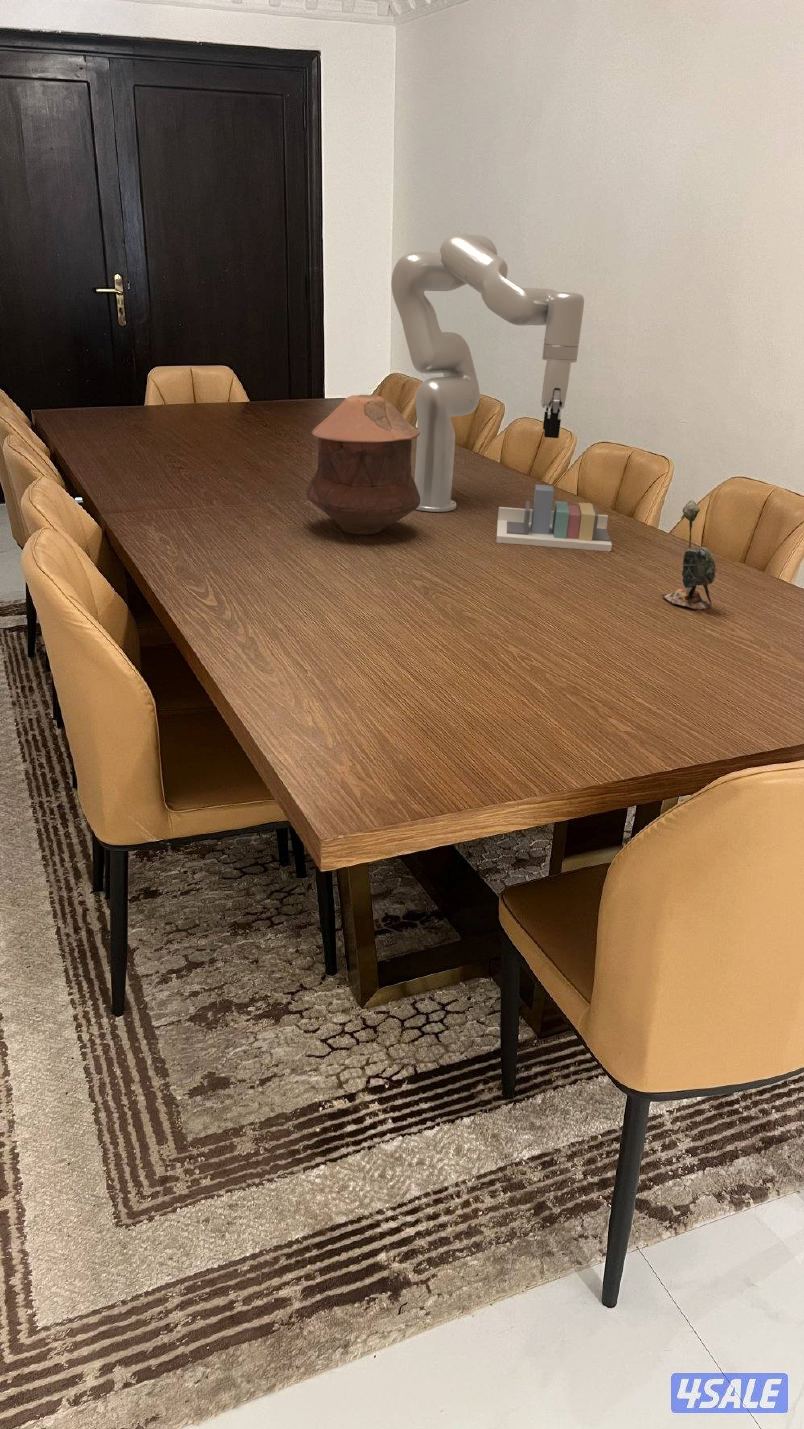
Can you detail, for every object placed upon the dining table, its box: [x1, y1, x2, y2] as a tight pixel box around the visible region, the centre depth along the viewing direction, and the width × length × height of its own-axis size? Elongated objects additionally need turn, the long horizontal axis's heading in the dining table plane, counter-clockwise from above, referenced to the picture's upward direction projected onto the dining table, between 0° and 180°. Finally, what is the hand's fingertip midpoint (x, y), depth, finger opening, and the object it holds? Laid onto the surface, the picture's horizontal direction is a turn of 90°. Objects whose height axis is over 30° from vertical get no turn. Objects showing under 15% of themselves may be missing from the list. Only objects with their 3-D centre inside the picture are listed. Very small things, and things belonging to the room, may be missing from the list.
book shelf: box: [496, 500, 613, 552], centre depth 236 cm, size 26×16×8 cm, turn 84°
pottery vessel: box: [305, 394, 420, 535], centre depth 228 cm, size 26×26×30 cm
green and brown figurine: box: [661, 500, 717, 610], centre depth 193 cm, size 8×11×20 cm
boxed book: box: [531, 484, 555, 534], centre depth 235 cm, size 4×6×10 cm, turn 174°
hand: (550, 433), depth 228 cm, fingers open, 9 cm apart
